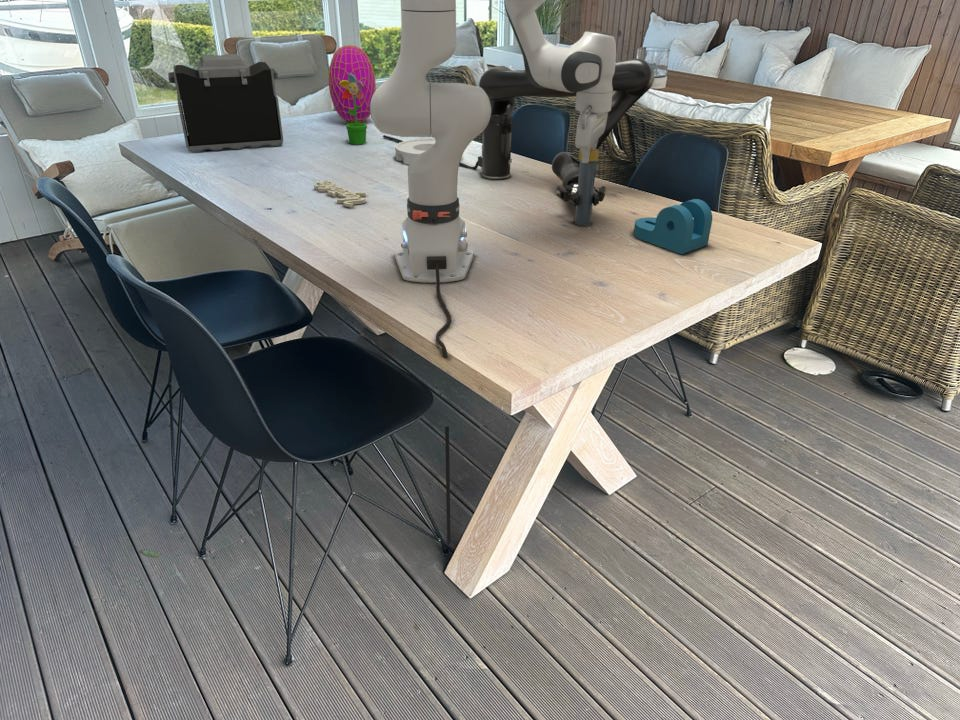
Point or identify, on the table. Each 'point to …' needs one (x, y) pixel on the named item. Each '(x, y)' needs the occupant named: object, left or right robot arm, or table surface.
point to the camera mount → (677, 227)
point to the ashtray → (412, 149)
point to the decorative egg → (340, 66)
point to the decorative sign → (340, 193)
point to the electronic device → (227, 103)
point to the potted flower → (354, 129)
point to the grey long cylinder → (585, 193)
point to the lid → (591, 154)
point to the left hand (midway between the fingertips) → (588, 159)
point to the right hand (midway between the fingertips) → (586, 202)
